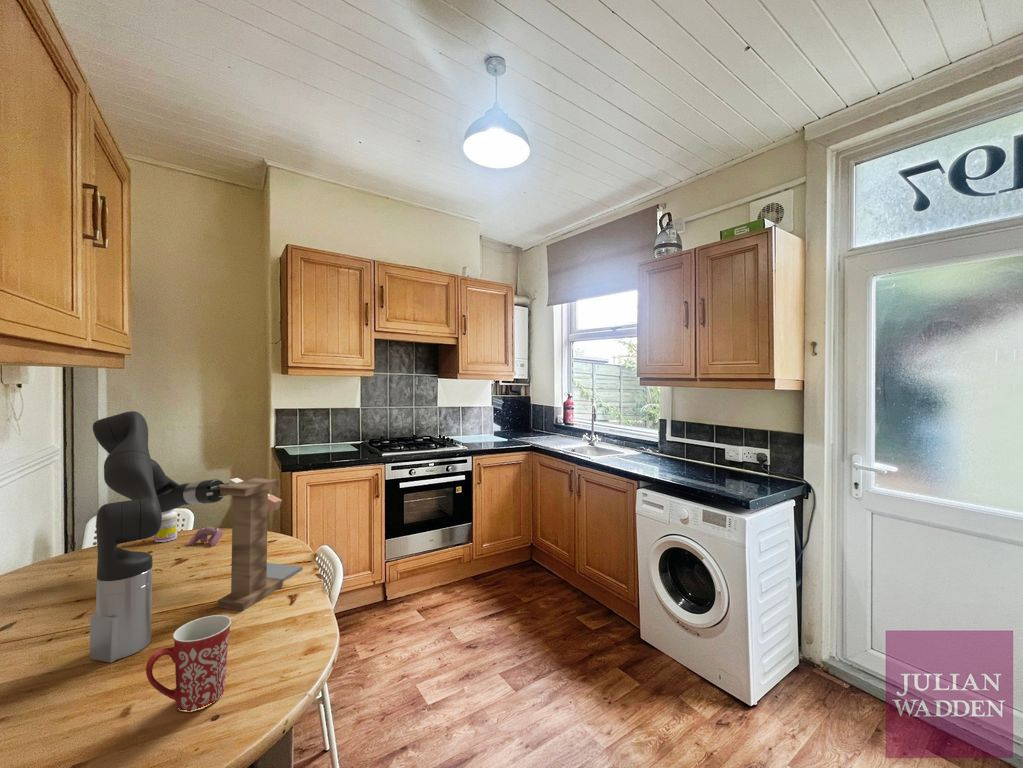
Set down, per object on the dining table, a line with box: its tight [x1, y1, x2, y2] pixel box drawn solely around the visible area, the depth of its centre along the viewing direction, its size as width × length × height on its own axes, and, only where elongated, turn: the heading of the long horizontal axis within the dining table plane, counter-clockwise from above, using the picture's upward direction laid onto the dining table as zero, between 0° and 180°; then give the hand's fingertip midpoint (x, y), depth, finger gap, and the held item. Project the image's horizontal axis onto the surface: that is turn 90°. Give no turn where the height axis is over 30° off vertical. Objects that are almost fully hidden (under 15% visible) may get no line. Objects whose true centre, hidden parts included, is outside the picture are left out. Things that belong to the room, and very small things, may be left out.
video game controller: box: [189, 526, 224, 547], centre depth 156 cm, size 10×5×7 cm, turn 85°
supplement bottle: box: [154, 509, 178, 543], centre depth 159 cm, size 7×7×13 cm
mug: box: [145, 614, 232, 711], centre depth 77 cm, size 13×9×14 cm
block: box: [227, 477, 283, 513], centre depth 133 cm, size 3×18×3 cm, turn 80°
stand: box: [217, 477, 284, 612], centre depth 117 cm, size 14×9×32 cm, turn 168°
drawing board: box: [267, 562, 304, 582], centre depth 131 cm, size 9×16×1 cm, turn 78°
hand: (249, 486), depth 134 cm, fingers closed on block, 3 cm apart
